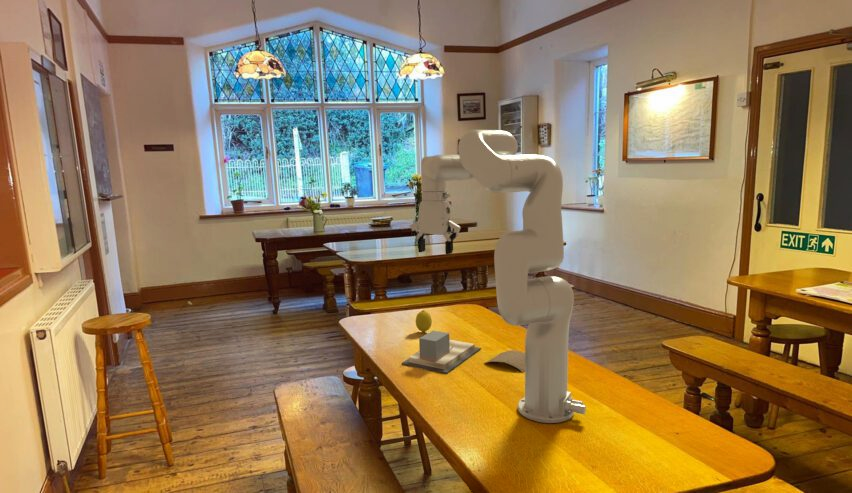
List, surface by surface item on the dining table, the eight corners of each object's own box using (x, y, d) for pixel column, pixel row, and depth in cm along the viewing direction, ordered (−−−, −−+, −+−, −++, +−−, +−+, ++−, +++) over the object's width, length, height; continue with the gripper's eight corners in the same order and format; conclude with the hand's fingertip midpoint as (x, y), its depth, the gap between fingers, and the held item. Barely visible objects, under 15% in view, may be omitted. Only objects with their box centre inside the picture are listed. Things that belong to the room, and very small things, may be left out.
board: (439, 341, 168) (439, 336, 168) (481, 349, 160) (480, 343, 160) (401, 364, 150) (401, 357, 149) (446, 374, 142) (446, 367, 142)
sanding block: (433, 349, 155) (433, 330, 155) (449, 352, 153) (449, 333, 152) (419, 358, 149) (419, 338, 148) (436, 361, 146) (435, 341, 145)
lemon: (413, 334, 176) (413, 311, 175) (418, 329, 182) (418, 307, 180) (429, 335, 175) (428, 312, 174) (433, 330, 180) (433, 308, 179)
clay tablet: (541, 364, 149) (541, 355, 149) (527, 376, 141) (527, 366, 141) (496, 355, 157) (496, 346, 157) (480, 365, 149) (480, 356, 149)
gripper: (465, 196, 156) (465, 252, 158) (416, 196, 164) (418, 249, 167) (453, 198, 149) (454, 256, 152) (403, 197, 158) (405, 252, 161)
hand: (435, 252), depth 159 cm, fingers open, 9 cm apart
